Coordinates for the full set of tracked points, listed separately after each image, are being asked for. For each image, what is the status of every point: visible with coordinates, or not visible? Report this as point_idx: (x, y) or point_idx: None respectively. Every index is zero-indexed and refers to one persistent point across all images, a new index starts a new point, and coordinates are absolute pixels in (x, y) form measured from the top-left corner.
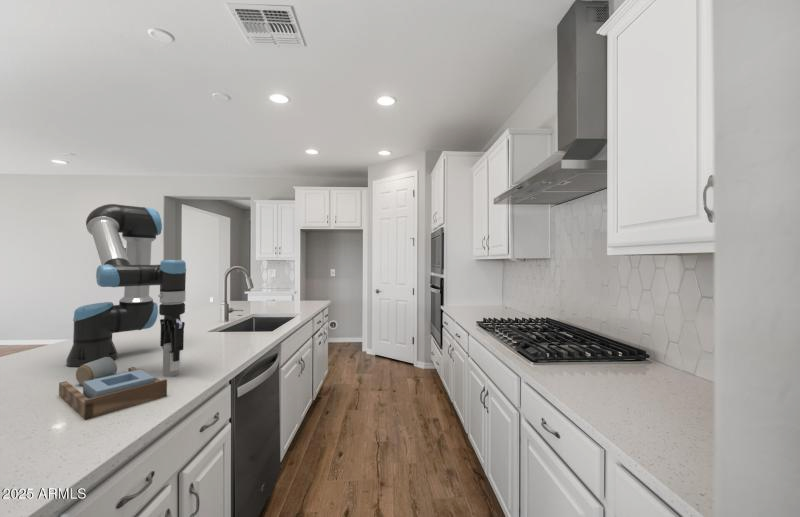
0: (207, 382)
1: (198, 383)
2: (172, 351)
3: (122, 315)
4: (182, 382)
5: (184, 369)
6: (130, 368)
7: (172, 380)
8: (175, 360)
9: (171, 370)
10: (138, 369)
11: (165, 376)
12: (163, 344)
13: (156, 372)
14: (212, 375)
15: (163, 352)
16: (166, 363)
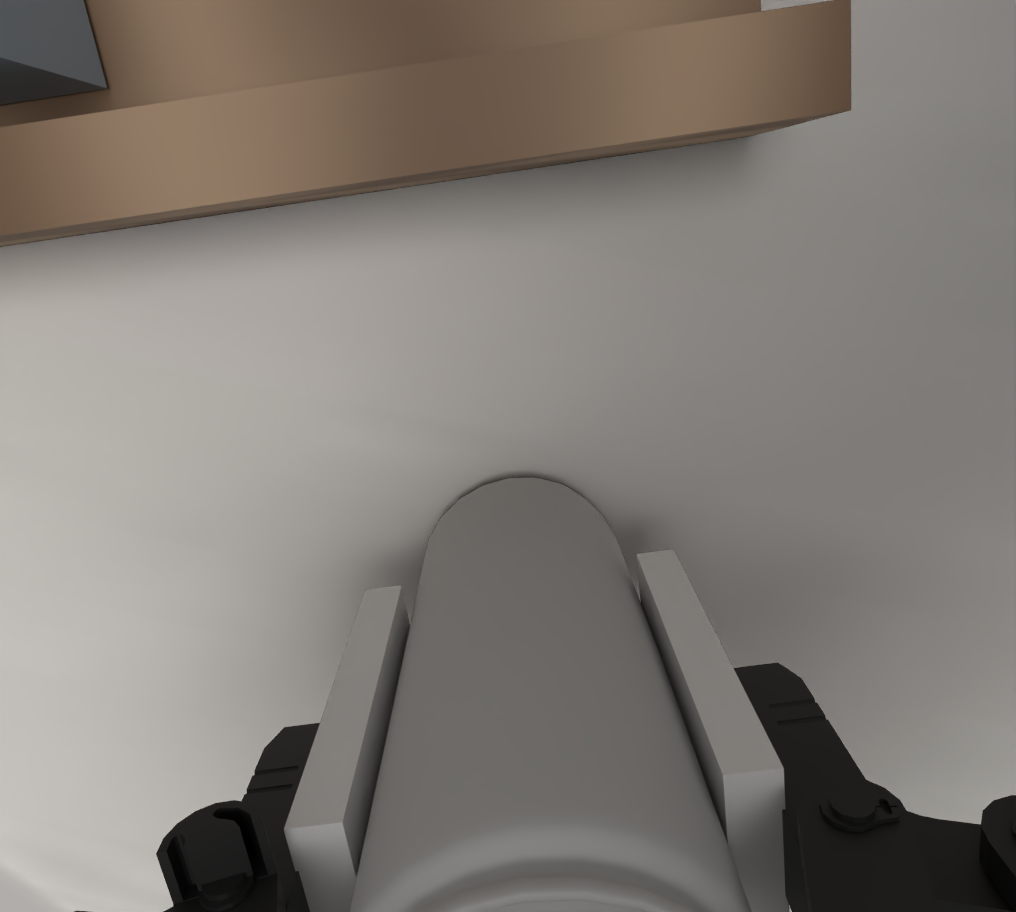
0: (6, 804)
1: (33, 729)
2: (170, 874)
3: None
4: (205, 613)
5: None
6: (778, 32)
7: (384, 547)
8: (276, 756)
9: (363, 604)
10: (559, 149)
11: (462, 505)
12: (874, 894)
13: (950, 480)
14: None
15: (545, 713)
16: (436, 611)
